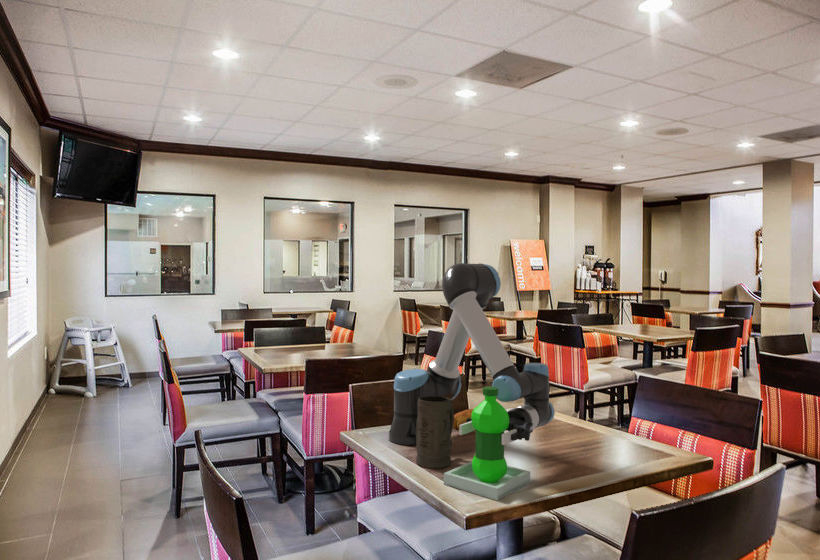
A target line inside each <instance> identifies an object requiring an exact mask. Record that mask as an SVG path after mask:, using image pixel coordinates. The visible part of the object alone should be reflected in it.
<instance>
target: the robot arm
mask: <svg viewBox="0 0 820 560" xmlns="http://www.w3.org/2000/svg"><path fill="white" fill-rule="evenodd" d="M441 281H442V282H441V290H442V293H443V297H444V299H445V301H446V303H447V305H448V306H449V308H450V309H451V310H452V313H451V316H450V319H449V322H448V323H447V327H446V329H445V332H444V334H443V336H442V337H443V338H442V340H441V343H440V346H439V349H438V352H437V354H436V356H435V359H433V360H431V361H430V362H429V363H428V366H427V369H426V370H425V369H421V368H413V369H411V368H410V369H405V370H402V371H400V372H397V373H396V374H395V376H394V382H393V419H392V421H391V425H390V428H389V429H390V430H389V431H388V440H389V442H391V443H394V444H397V445H405V446H416V434H417V418H418V399H419V398H420V397H423V396H442V397H447V398H449V399H450V400H452V401H453V400H455V398H457V397H458V395H459V393H460V392H461V388H462V382H461V380H462V379H461V378H462V377H461V376H460V375H461V372H460V370H459V367H460V363H461V360H462V358H463V356H464V353H465V350H466V347H467V345H468V342H469V340H470V339H471V341H472V343H473V345H474V347H475V349H476V350H477V352H478V354H479V356H480V358H481V359H482V361H483V363H484V365H485V366H486V369H487V370H488V372H489V374H490V376H491V377H492V379H493V381H492V384H491V387H496V388H498V396H496V400H498V402H499V401H500V402H502V403H508V402H515V401H518V400H521V399H523V401H524V402H523V403H524V404H523V405H521V406H517V407H515V408H511V409H509V410H508V411H507V410H506V411H507V413H508V416H509V426H508V428H507V429H506V430H505V431H507V432H505V431H504V433H503V434H502V445H504V446H505V445H507V444H510V443H512V442H514V441H517V440H519V441H522V440H523V439H524V440H525V441H528V442H529V441H530V438H531V433H533V430H535V429H537V428H539V427H543V426H546V425H547V424H549V423H550V422H552V420H553V419H555V418H554V417H555V414H556V413H555V412H556V411H555V408H554V406H553V404H552V403H551V402H550V372H549V370H550V369H549V366H548V364H545V363H542V362H528V363H527V362H526V363H525V364H524V365H523V371H522V372H519V371H518V369H517V367H516V366H515V364H514V362H513V361H512V359H511V357H510V355H509V353H508V352H507V350H506V348H505V347H504V345H503V343H502V342H501V340H500V338H499V336H498V334H497V333H496V331H495V330H494V327H493V326H492V324H491V323H490V321H489V319H488V317H487V316H486V314H485V311H484V309H486V308H487V306H488V303H489V300H490V299H492V298H494V297H495V296H497V295H498V294H499V292H500V289H501V284H502V283H501V277H500V275H499V272H498V271H497V269H496V268H495V267H493V266H492V265H489V264H484V263H481V262H480V263H465V262H464V263H463V262H460V263H459V262H458V263H456V264H453V265H451V266H450V267H448V268H447V269H446V271H445V273H444V274H443V277H442V280H441ZM458 431H459V436H463V435H466V434H470V433H469V432H473V431H475V428H474V427H473V425H472V419H471V418H467V419H466V423H464V424H461V425H459V430H458Z"/></svg>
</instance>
